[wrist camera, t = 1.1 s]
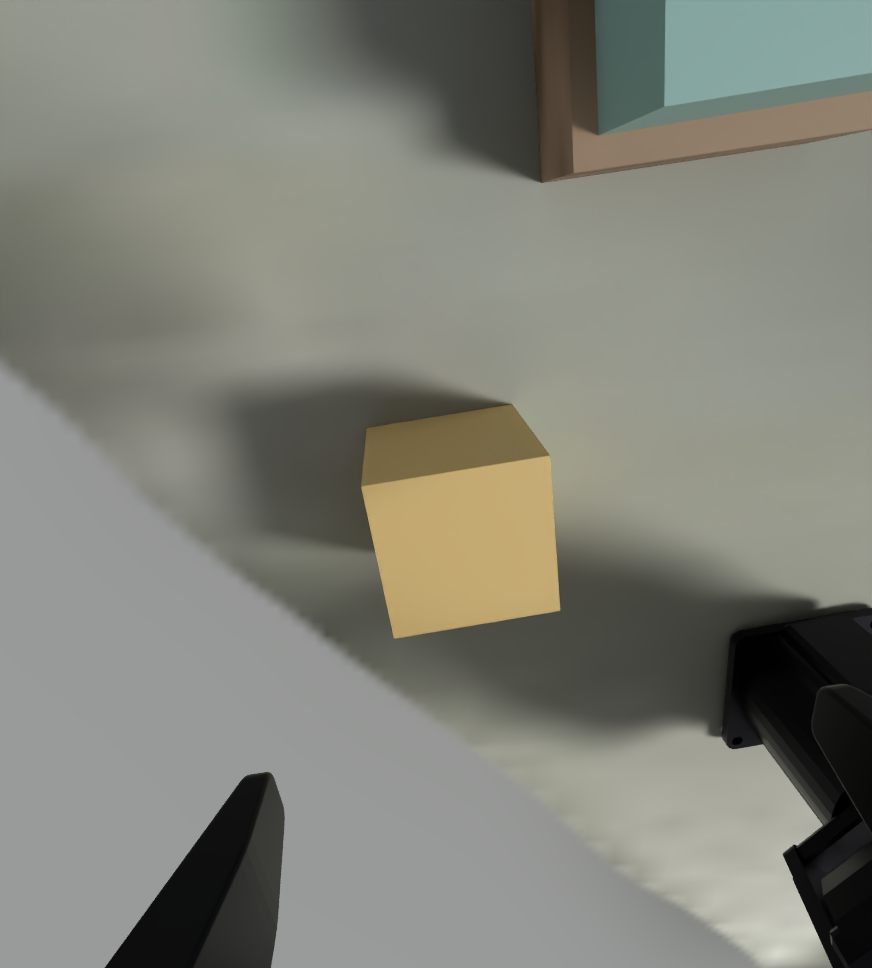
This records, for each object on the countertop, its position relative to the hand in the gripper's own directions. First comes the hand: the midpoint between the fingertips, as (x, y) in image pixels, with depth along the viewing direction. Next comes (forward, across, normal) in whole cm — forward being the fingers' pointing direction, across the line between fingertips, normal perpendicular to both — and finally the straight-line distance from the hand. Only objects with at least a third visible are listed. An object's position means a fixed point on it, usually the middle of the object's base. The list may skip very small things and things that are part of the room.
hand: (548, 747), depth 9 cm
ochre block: (+12, 0, 0) cm, 12 cm away
